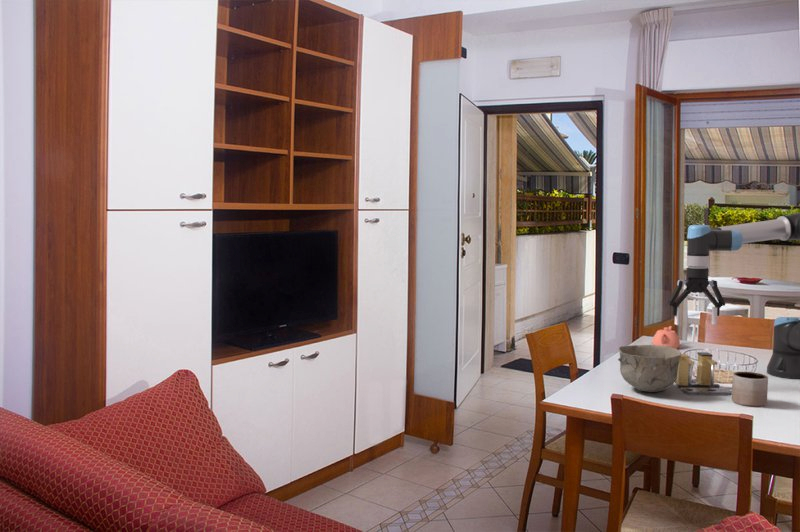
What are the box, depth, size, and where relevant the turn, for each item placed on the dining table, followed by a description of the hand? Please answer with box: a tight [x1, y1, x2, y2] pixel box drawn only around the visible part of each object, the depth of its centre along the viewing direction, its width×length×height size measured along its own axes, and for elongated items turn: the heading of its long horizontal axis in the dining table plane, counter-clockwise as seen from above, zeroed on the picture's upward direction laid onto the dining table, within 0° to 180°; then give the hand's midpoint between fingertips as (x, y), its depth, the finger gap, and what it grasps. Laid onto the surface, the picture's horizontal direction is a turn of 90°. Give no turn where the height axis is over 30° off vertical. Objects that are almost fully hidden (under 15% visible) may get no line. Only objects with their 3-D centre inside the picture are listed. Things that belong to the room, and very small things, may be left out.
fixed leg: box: [674, 353, 695, 387], centre depth 259 cm, size 4×12×11 cm, turn 179°
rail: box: [675, 382, 721, 389], centre depth 263 cm, size 15×2×1 cm, turn 89°
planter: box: [730, 371, 769, 408], centre depth 243 cm, size 11×11×10 cm
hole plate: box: [681, 387, 732, 396], centre depth 255 cm, size 16×6×1 cm, turn 89°
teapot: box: [651, 325, 681, 350], centre depth 336 cm, size 12×18×10 cm
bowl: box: [617, 344, 683, 393], centre depth 257 cm, size 22×22×15 cm
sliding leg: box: [695, 351, 718, 387], centre depth 259 cm, size 4×12×11 cm, turn 179°
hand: (695, 324), depth 264 cm, fingers open, 13 cm apart
